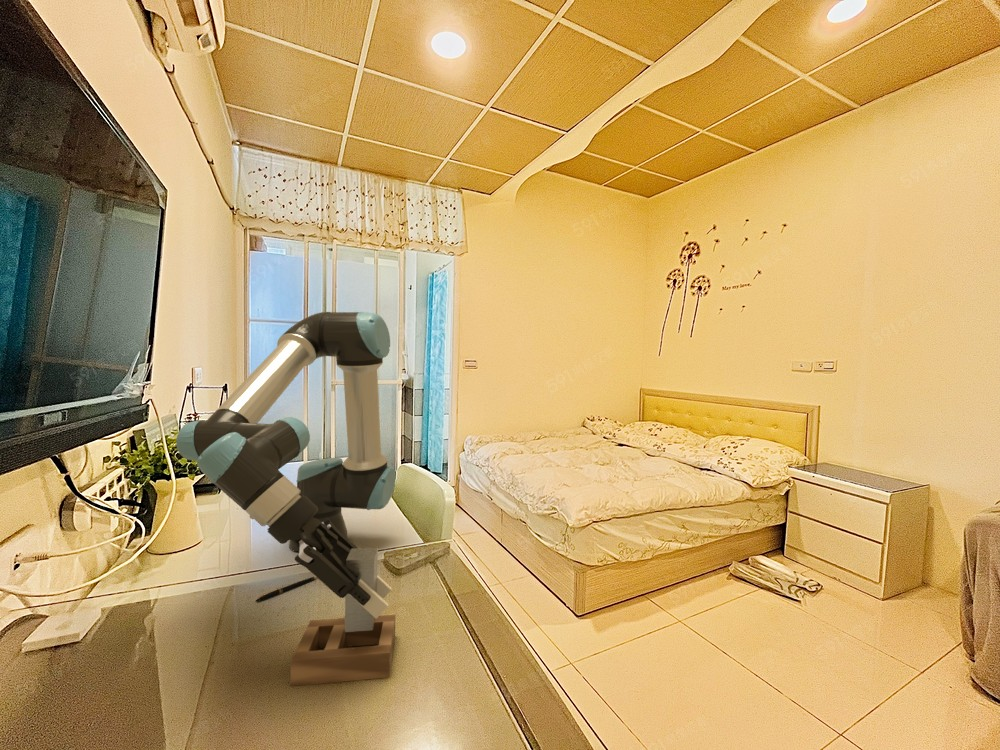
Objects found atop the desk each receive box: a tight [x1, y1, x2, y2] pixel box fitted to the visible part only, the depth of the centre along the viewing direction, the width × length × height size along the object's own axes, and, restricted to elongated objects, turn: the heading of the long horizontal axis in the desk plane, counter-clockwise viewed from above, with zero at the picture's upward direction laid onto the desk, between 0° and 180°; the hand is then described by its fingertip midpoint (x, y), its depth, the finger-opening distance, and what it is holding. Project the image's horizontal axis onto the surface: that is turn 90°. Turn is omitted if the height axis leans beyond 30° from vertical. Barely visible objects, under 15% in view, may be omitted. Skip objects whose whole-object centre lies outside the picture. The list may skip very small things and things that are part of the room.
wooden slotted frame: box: [289, 614, 396, 687], centre depth 71 cm, size 10×15×4 cm
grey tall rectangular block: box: [344, 547, 379, 632], centre depth 72 cm, size 4×4×12 cm
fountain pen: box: [255, 576, 318, 603], centre depth 93 cm, size 14×1×2 cm, turn 142°
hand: (384, 602), depth 72 cm, fingers closed on grey tall rectangular block, 4 cm apart
